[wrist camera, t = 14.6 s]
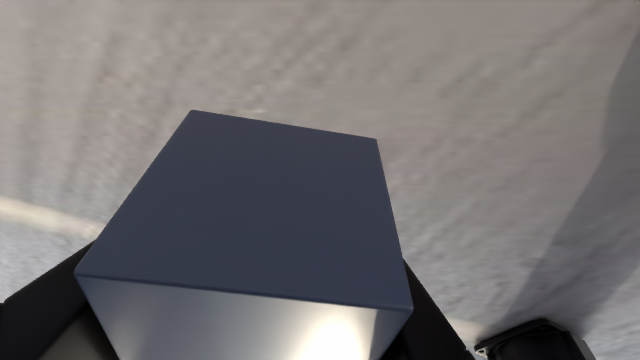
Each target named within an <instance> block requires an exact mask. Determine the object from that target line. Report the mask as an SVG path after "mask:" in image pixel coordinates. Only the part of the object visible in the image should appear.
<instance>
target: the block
mask: <svg viewBox="0 0 640 360" xmlns="http://www.w3.org/2000/svg"><path fill="white" fill-rule="evenodd" d="M74 276H75V278H76V280H77V282H78V284H79V286H80V287H81V289H82V291H83V293H84V295H85V297H86V299H87V300H88V302H89V304H90V306H91V308H92V310H93V312H94V313H95V315H96V317H97V319H98V321H99V323H100V324H101V326H102V328H103V330H104V332H105V334H106V336H107V337H108V339H109V341H110V343H111V345H112V347H113V349H114V350H115V352H116V354H117V356H118V358H119V360H380V359H381V358H382V356H383V355H384V353H385V352H386V350H387V349H388V348H389V346H390V345H391V343H392V342H393V340H394V339H395V337H396V336H397V334H398V333H399V332H400V330H401V329H402V327H403V326H404V324H405V323H406V321H407V320H408V318H409V317H410V315H411V314H412V313H413V309H414V307H413V302H412V297H411V293H410V288H409V284H408V279H407V275H406V270H405V266H404V261H403V257H402V252H401V248H400V243H399V239H398V234H397V230H396V225H395V221H394V216H393V212H392V207H391V203H390V198H389V194H388V189H387V185H386V180H385V176H384V171H383V167H382V162H381V158H380V153H379V149H378V144H377V140H376V139H374V138H368V137H362V136H355V135H349V134H343V133H336V132H330V131H324V130H317V129H311V128H305V127H299V126H292V125H286V124H280V123H273V122H267V121H261V120H254V119H248V118H242V117H235V116H229V115H223V114H217V113H210V112H204V111H198V110H191V111H190V112H189V113H188V115H187V116H186V117H185V119H184V120H183V121H182V123H181V124H180V126H179V127H178V128H177V130H176V131H175V132H174V134H173V135H172V137H171V138H170V139H169V141H168V142H167V143H166V145H165V146H164V147H163V149H162V150H161V152H160V153H159V154H158V156H157V157H156V158H155V160H154V161H153V162H152V164H151V165H150V167H149V168H148V169H147V171H146V172H145V173H144V175H143V176H142V178H141V179H140V180H139V182H138V183H137V184H136V186H135V187H134V188H133V190H132V191H131V193H130V194H129V195H128V197H127V198H126V199H125V201H124V202H123V204H122V205H121V206H120V208H119V209H118V210H117V212H116V213H115V214H114V216H113V217H112V219H111V220H110V221H109V223H108V224H107V225H106V227H105V228H104V229H103V231H102V232H101V234H100V235H99V236H98V238H97V239H96V240H95V242H94V243H93V245H92V246H91V247H90V249H89V250H88V251H87V253H86V254H85V255H84V257H83V258H82V260H81V261H80V262H79V264H78V265H77V266H76V268H75V271H74Z"/></svg>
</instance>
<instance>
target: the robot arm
mask: <svg viewBox="0 0 640 360" xmlns="http://www.w3.org/2000/svg"><path fill="white" fill-rule="evenodd" d="M94 242H95V240H94V241H93V242H91V243H90V244H88V245H87V246H85V247H84V248H82V249H81V250H79V251H78V252H76V253H75V254H73V255H72V256H70V257H69V258H67V259H66V260H64V261H63V262H61V263H60V264H58V265H57V266H55V267H54V268H52V269H51V270H49V271H48V272H46V273H45V274H43V275H41V276H40V277H38V278H37V279H35V280H34V281H32V282H31V283H29V284H28V285H26V286H25V287H23V288H22V289H20V290H19V291H17V292H16V293H14V294H13V295H11V296H10V297H8V298H7V299H6V300H5V301H4V303H0V360H119V358H118V356H117V354H116V352H115V350H114V349H113V347H112V345H111V343H110V341H109V339H108V337H107V336H106V334H105V332H104V330H103V328H102V326H101V324H100V323H99V321H98V319H97V317H96V315H95V313H94V312H93V310H92V308H91V306H90V304H89V302H88V300H87V299H86V297H85V295H84V293H83V291H82V289H81V287H80V286H79V284H78V282H77V280H76V278H75V276H74V271H75V268H76V266H77V265H78V264H79V262H80V261H81V260H82V258H83V257H84V255H85V254H86V253H87V251H88V250H89V249H90V247H91V246H92V245H93V243H94ZM403 261H404V266H405V270H406V275H407V279H408V284H409V288H410V293H411V297H412V302H413V307H414V309H413V313H412V314H411V315H410V317H409V318H408V320H407V321H406V323H405V324H404V326H403V327H402V329H401V330H400V332H399V333H398V334H397V336H396V337H395V339H394V340H393V342H392V343H391V345H390V346H389V348H388V349H387V350H386V352H385V353H384V355H383V356H382V358H381V359H380V360H475V358H474V357H473V355H472V354H471V353H470V351H469V350H466V346H465V344H464V343H463V342H462V340H461V339H460V337H459V336H458V335H457V333H456V332H455V330H454V329H453V328H452V326H451V325H450V323H449V322H448V321H447V319H446V318H445V316H444V315H443V314H442V312H441V311H440V309H439V308H438V307H437V305H436V304H435V302H434V301H433V300H432V298H431V297H430V295H429V294H428V292H427V291H426V290H425V288H424V287H423V285H422V284H421V283H420V281H419V280H418V278H417V277H416V276H415V274H414V273H413V271H412V270H411V269H410V267H409V266H408V264H407V263H406V262H405V260H404V259H403ZM474 349H475V352H476V353H477V354H479V355H481V356H483V357H485V358H487V359H488V360H596V359H595V357H594V355H593V354H592V352H591V350H590V349H589V347H588V346H587V344H586V342H585V341H584V340H582V339H581V338H579V337H578V336H576V335H574V334H573V333H571V332H569V331H567V330H564V329H563V328H561V327H560V326H558V325H556V324H555V323H553V322H551V321H550V320H548V319H540V320H537V321H534V322H532V323H529V324H527V325H524V326H522V327H519V328H517V329H515V330H512V331H510V332H507V333H505V334H502V335H500V336H497V337H495V338H492V339H490V340H487V341H485V342H482V343H480V344H477V345H475V346H474Z"/></svg>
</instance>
